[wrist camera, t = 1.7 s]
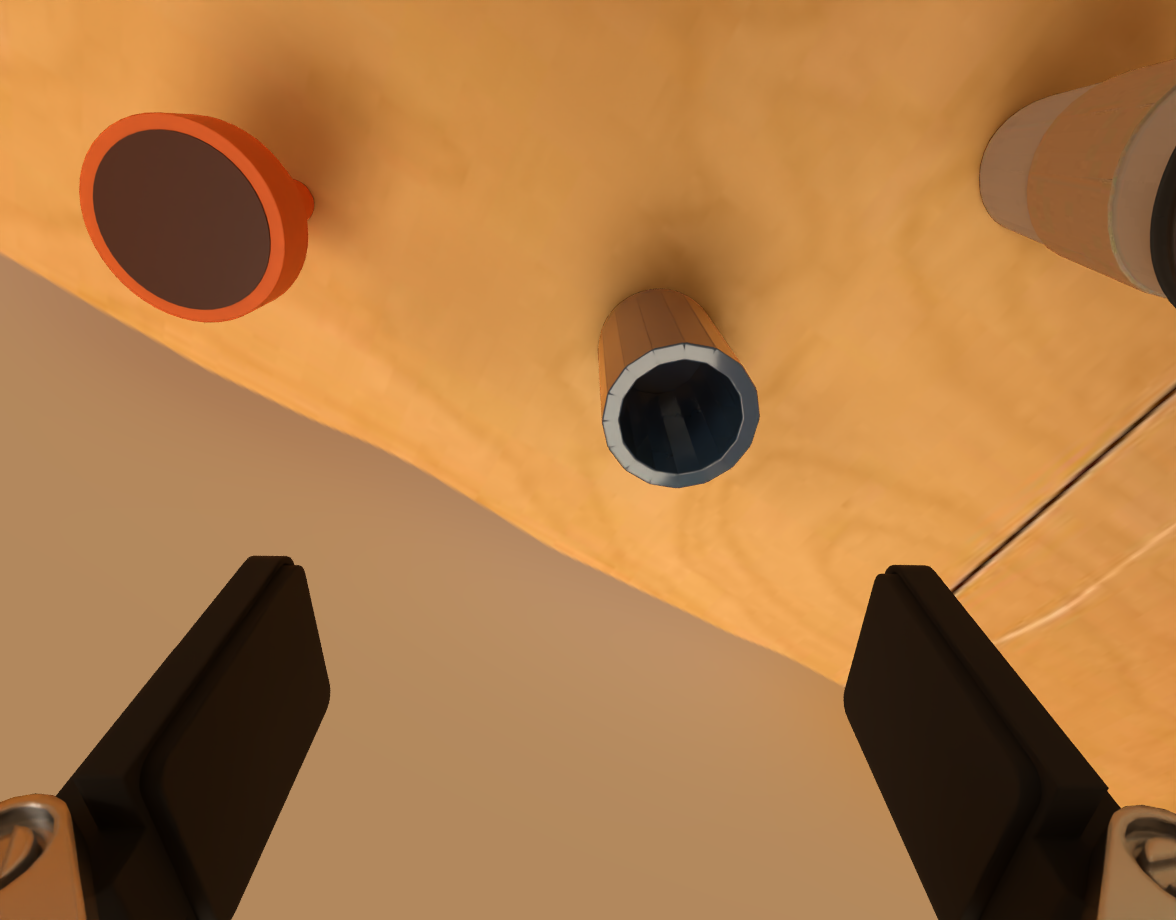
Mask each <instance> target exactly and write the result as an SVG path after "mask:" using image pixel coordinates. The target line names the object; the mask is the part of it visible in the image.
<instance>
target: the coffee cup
mask: <svg viewBox="0 0 1176 920" xmlns="http://www.w3.org/2000/svg"><path fill="white" fill-rule="evenodd" d="M979 182H980V193H981V196H982V200H983V204H984V206H985V207H986V209H987V211H988V213H989V214H990V216H991V217H992V218H993V219H994V220H995V221H996V222H997V223H999V224H1000V225H1002V226H1004V227H1005V228H1008V229H1010V230H1012V231H1014V232H1017V233H1019V234H1021V235H1024V236H1026V237H1028V238H1031V239H1033V240H1035V241H1037V242H1040V243H1042V244H1044V245H1045V246H1046V247H1047V248H1049V249H1050V250H1052V251H1053V252H1055V253H1057V254H1058V255H1060V256H1062V257H1064V258H1067V259H1069V260H1071V261H1074V262H1076V263H1078V264H1081V265H1083V266H1085V267H1087V268H1090V269H1092V270H1094V271H1097V272H1099V273H1101V274H1104V275H1106V276H1108V277H1110V278H1113V279H1115V280H1117V281H1120V282H1122V283H1124V284H1127V285H1129V286H1131V287H1133V288H1136V289H1138V290H1140V291H1143V292H1145V293H1149V294H1152V295H1156V296H1160V297H1163V298H1167V299H1168V300H1169V301H1170V303H1171V304H1172V305H1173V306H1174V307H1175V308H1176V59H1173V60H1169V61H1165V62H1162V63H1158V64H1154V65H1150V66H1146V67H1143V68H1139V69H1135V70H1131V71H1128V72H1126V73H1123V74H1120V75H1118V76H1115V77H1112V78H1110V79H1108V80H1106V81H1104V82H1101V83H1098V84H1094V85H1090V86H1086V87H1082V88H1079V89H1075V90H1071V91H1067V92H1063V93H1060V94H1056V95H1052V96H1049V97H1046V98H1043V99H1041V100H1038V101H1035V102H1033V103H1031V104H1030V105H1028V106H1026V107H1024V108H1022V109H1021V110H1019V111H1018V112H1017V113H1015V114H1014V115H1013V116H1011V117H1010V118H1009V119H1008V120H1007V121H1006V122H1005V123H1004V124H1003V125H1002V126H1001V127H1000V128H999V129H998V130H997V131H996V133H995V134H994V136H993V137H992V139H991V140H990V142H989V144H988V146H987V148H986V150H985V152H984V155H983V159H982V163H981V167H980V177H979Z"/></svg>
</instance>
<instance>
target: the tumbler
mask: <svg viewBox="0 0 1176 920" xmlns="http://www.w3.org/2000/svg"><path fill="white" fill-rule="evenodd" d="M598 362H599V380H600V398H601V416H602V425H603V429H604V434H605V438H606V442H607V446H608V447H609V450H610V451H611V453H612V454H613V455H614V457H615V458H616V459H617V461H618V462H619V463H620V464H621V466H622V467H623V468H624V469H625V470H626V471H628V472H629V473H631V474H633V475H635V476H636V477H638V478H640V479H642V480H643V481H645V482H647V483H649V484H653V485H659V486H665V487H672V488H682V487H687V486H693V485H698V484H703V483H706V482H709V481H710V480H712V479H714V478H715V477H717V476H719V475H721V474H722V473H724V472H726V471H728V470H729V469H731V467H733V466H734V465H735V464H736V463H737V462H738V460H739V459H740V458H741V457H742V456H743V454H744V453H745V452H746V451H747V450H748V448H749V447H750V446H751V444H752V441H753V437H754V434H755V431H756V428H757V425H758V422H759V417H760V414H759V404H758V395H757V390H756V387H755V385H754V384H753V382H752V380H751V379H750V377H749V375H748V374H747V372H746V371H745V369H744V367H743V366H742V364H741V363H740V361H739V360H738V358H737V357H736V355H735V354H734V353H733V351H732V350H731V348H730V347H729V345H728V344H727V342H726V341H725V339H724V338H723V337H722V335H721V334H720V332H719V331H718V329H717V328H716V326H715V325H714V323H713V322H712V321H711V319H710V318H709V316H708V315H707V313H706V312H705V310H704V309H703V308H702V307H701V306H700V305H699V304H698V303H697V302H695V301H694V300H693V299H692V298H690V297H688V296H687V295H685V294H682V293H680V292H678V291H674V290H670V289H649V290H645V291H641V292H638V293H636V294H633V295H631V296H630V297H628V298H626V299H625V300H623V301H622V302H621V303H619V304H618V305H617V306H616V307H615V308H614V309H613V311H612V312H611V313H610V314H609V316H608V317H607V319H606V321H605V323H604V325H603V328H602V330H601V334H600V339H599V348H598Z"/></svg>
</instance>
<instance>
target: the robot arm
mask: <svg viewBox="0 0 1176 920" xmlns="http://www.w3.org/2000/svg"><path fill="white" fill-rule="evenodd" d="M329 700H330V684H329V679H328V675H327V670H326V666H325V661H324V656H323V652H322V647H321V643H320V638H319V634H318V629H317V625H316V620H315V616H314V611H313V607H312V602H311V598H310V593H309V588H308V584H307V579H306V575H305V571H304V569H303V567H302V566H299V565H294V563H293V561H292V559H291V558H290V557H287V556H251V557H249V558H248V559H247V560H246V561H245V562H244V563H243V565H242V566H241V567H240V568H239V569H238V571H237V572H236V573H235V574H234V576H233V577H232V578H231V579H230V581H229V582H228V583H227V584H226V586H225V587H224V588H223V589H222V591H221V592H220V593H219V594H218V596H217V597H216V598H215V599H214V601H213V602H212V603H211V604H210V605H209V607H208V608H207V609H206V611H205V612H204V613H203V614H202V615H201V617H200V618H199V619H198V620H197V622H196V623H195V624H194V625H193V627H192V628H191V629H190V630H189V632H188V633H187V634H186V636H185V637H184V638H183V639H182V640H181V642H180V643H179V644H178V645H177V647H176V648H175V649H174V650H173V651H172V652H171V654H170V655H169V656H168V657H167V658H166V660H165V661H164V662H163V663H162V665H161V666H160V667H159V668H158V670H157V671H156V672H155V673H154V675H153V676H152V677H151V678H150V680H149V681H148V682H147V683H146V685H145V686H144V687H143V688H142V689H141V691H140V692H139V693H138V694H137V696H136V697H135V698H134V699H133V701H132V702H131V703H130V704H129V706H128V707H127V708H126V709H125V711H124V712H123V713H122V714H121V716H120V717H119V718H118V719H117V721H116V722H115V723H114V724H113V726H112V727H111V728H110V729H109V731H108V732H107V733H106V734H105V736H104V737H103V738H102V739H101V740H100V742H99V743H98V744H97V745H96V747H95V748H94V749H93V750H92V752H91V753H90V754H89V755H88V757H87V758H86V759H85V761H84V762H83V763H82V764H81V765H80V767H79V768H78V769H77V770H76V772H75V773H74V774H73V775H72V777H71V778H70V779H69V780H68V781H67V783H66V784H65V785H64V786H63V788H62V789H61V790H60V791H59V793H58V794H57V795H56V796H53V795H45V794H30V795H24V796H18V797H13V798H10V799H7V800H5V801H2V802H0V920H231V919H232V917H233V915H234V913H235V911H236V909H237V907H238V905H239V903H240V900H241V898H242V896H243V894H244V892H245V889H246V887H247V885H248V883H249V880H250V878H251V876H252V874H253V872H254V869H255V867H256V865H257V863H258V860H259V858H260V856H261V854H262V852H263V850H264V847H265V845H266V843H267V841H268V839H269V836H270V834H271V831H272V830H273V827H274V825H275V823H276V821H277V818H278V816H279V814H280V812H281V810H282V808H283V805H284V803H285V801H286V799H287V796H288V794H289V792H290V790H291V788H292V786H293V783H294V781H295V779H296V777H297V774H298V772H299V769H300V768H301V766H302V763H303V761H304V759H305V757H306V754H307V752H308V750H309V748H310V746H311V743H312V741H313V739H314V737H315V735H316V732H317V730H318V728H319V726H320V724H321V721H322V719H323V717H324V715H325V713H326V710H327V708H328V704H329ZM844 708H845V712H846V715H847V717H848V720H849V722H850V724H851V727H852V729H853V731H854V733H855V736H856V738H857V740H858V742H859V744H860V746H861V749H862V751H863V753H864V755H865V758H866V760H867V762H868V764H869V767H870V769H871V771H872V773H873V776H874V778H875V780H876V782H877V784H878V787H879V789H880V791H881V793H882V795H883V798H884V800H885V802H886V804H887V807H888V809H889V811H890V813H891V816H892V818H893V820H894V822H895V824H896V827H897V829H898V831H899V833H900V836H901V838H902V840H903V842H904V844H905V846H906V849H907V851H908V853H909V856H910V858H911V860H912V862H913V864H914V866H915V869H916V871H917V873H918V875H919V878H920V880H921V882H922V884H923V887H924V889H925V891H926V893H927V896H928V898H929V900H930V902H931V904H932V906H933V909H934V911H935V913H936V916H937V918H938V920H1176V814H1175V813H1172V812H1170V811H1167V810H1165V809H1161V808H1155V807H1150V806H1145V805H1136V806H1125V807H1123V808H1122V809H1121V808H1120V807H1119V805H1118V804H1117V803H1116V802H1115V800H1114V799H1113V798H1112V797H1111V795H1110V794H1109V793H1108V792H1107V790H1108V787H1107V785H1106V784H1105V783H1104V782H1103V780H1102V779H1101V778H1100V777H1099V775H1098V774H1097V773H1096V772H1095V770H1094V769H1093V768H1092V767H1091V765H1090V764H1089V763H1088V762H1087V760H1086V759H1085V758H1084V757H1083V755H1082V754H1081V753H1080V752H1079V750H1078V749H1077V748H1076V747H1075V746H1074V744H1073V743H1072V742H1071V741H1070V739H1069V738H1068V737H1067V736H1066V734H1065V733H1064V732H1063V731H1062V729H1061V728H1060V727H1059V726H1058V724H1057V723H1056V722H1055V721H1054V719H1053V718H1052V717H1051V716H1050V714H1049V713H1048V712H1047V711H1046V709H1045V708H1044V707H1043V706H1042V704H1041V703H1040V702H1039V701H1038V699H1037V698H1036V697H1035V696H1034V694H1033V693H1032V692H1031V691H1030V689H1029V688H1028V687H1027V686H1026V684H1025V683H1024V682H1023V681H1022V679H1021V678H1020V677H1019V676H1018V674H1017V673H1016V672H1015V671H1014V669H1013V668H1012V667H1011V666H1010V664H1009V663H1008V662H1007V661H1006V659H1005V658H1004V657H1003V656H1002V654H1001V653H1000V652H999V651H998V650H997V648H996V647H995V646H994V645H993V643H992V642H991V641H990V640H989V638H988V637H987V636H986V635H985V633H984V632H983V631H982V630H981V628H980V627H979V626H978V625H977V623H976V622H975V621H974V620H973V618H972V617H971V616H970V615H969V613H968V612H967V611H966V610H965V608H964V607H963V606H962V605H961V603H960V602H959V601H958V600H957V598H956V597H955V596H954V595H953V593H952V592H951V591H950V590H949V588H948V587H947V586H946V585H945V583H944V582H943V581H942V580H941V578H940V577H939V576H938V575H937V573H936V572H935V571H934V570H933V569H932V568H931V567H929V566H926V565H892V566H889V567H888V569H887V570H886V572H885V574H879V575H878V576H877V577H876V579H875V581H874V585H873V588H872V592H871V596H870V599H869V603H868V607H867V610H866V614H865V617H864V621H863V625H862V628H861V632H860V636H859V639H858V643H857V647H856V650H855V654H854V658H853V661H852V665H851V669H850V672H849V676H848V680H847V683H846V687H845V691H844Z"/></svg>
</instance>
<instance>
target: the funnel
mask: <svg viewBox="0 0 1176 920" xmlns="http://www.w3.org/2000/svg"><path fill="white" fill-rule="evenodd" d="M79 194H80V204H81V210H82V214H83V218H84V222H85V225H86V227H87V230H88V233H89V235H90V237H91V240H92V242H93V244H94V246H95V248H96V249H97V251H98V253H99V254H100V256H101V258H102V259H103V261H104V262H105V263H106V265H107V266H108V267H109V269H110V270H111V271H112V272H113V273H114V274H115V276H116V277H117V278H118V279H119V280H120V281H121V282H122V283H123V284H124V285H125V286H126V287H127V288H129V289H130V290H131V291H132V292H133V293H134V294H136V295H137V296H138V297H140V298H141V299H143V300H144V301H146V302H147V303H149V304H151V305H152V306H154V307H156V308H158V309H160V310H162V311H164V312H166V313H168V314H171V315H174V316H177V317H180V318H183V319H187V320H192V321H199V322H222V321H229V320H232V319H236V318H239V317H242V316H244V315H246V314H248V313H250V312H252V311H254V310H256V309H258V308H260V307H262V306H263V305H265V304H267V303H269V302H271V301H273V300H275V299H276V298H278V297H279V296H281V295H282V294H283V293H285V292H286V291H287V290H288V289H289V288H290V287H291V285H292V284H293V283H294V281H295V280H296V279H297V277H298V275H299V273H300V271H301V269H302V267H303V264H304V261H305V258H306V253H307V247H308V225H307V220H308V219H309V218H310V216H311V215H312V213H313V209H314V201H313V197H312V195H311V193H310V191H309V190H308V188H307V187H306V186H305V185H303V184H302V183H301V182H299V181H297V180H294V179H292V178H291V177H290V175H289V174H288V172H287V171H286V170H285V168H284V167H283V166H282V164H281V163H280V162H279V160H278V159H277V158H276V157H275V156H274V155H273V154H272V153H271V152H270V150H269V149H267V148H266V147H265V146H264V145H263V144H262V143H261V142H259V141H258V140H257V139H256V138H254V137H253V136H251V135H250V134H248V133H247V132H245V131H244V130H242V129H240V128H238V127H236V126H235V125H232V124H230V123H227V122H225V121H222V120H220V119H216V118H212V117H208V116H202V115H193V114H176V113H142V114H136V115H132V116H129V117H126V118H123V119H121V120H119V121H117V122H115V123H114V124H112V125H110V126H109V127H108V128H107V129H105V130H104V131H103V132H102V133H101V134H100V135H99V136H98V137H97V139H96V140H95V141H94V142H93V143H92V145H91V147H90V149H89V151H88V152H87V154H86V157H85V160H84V163H83V165H82V170H81V176H80V189H79Z"/></svg>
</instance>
